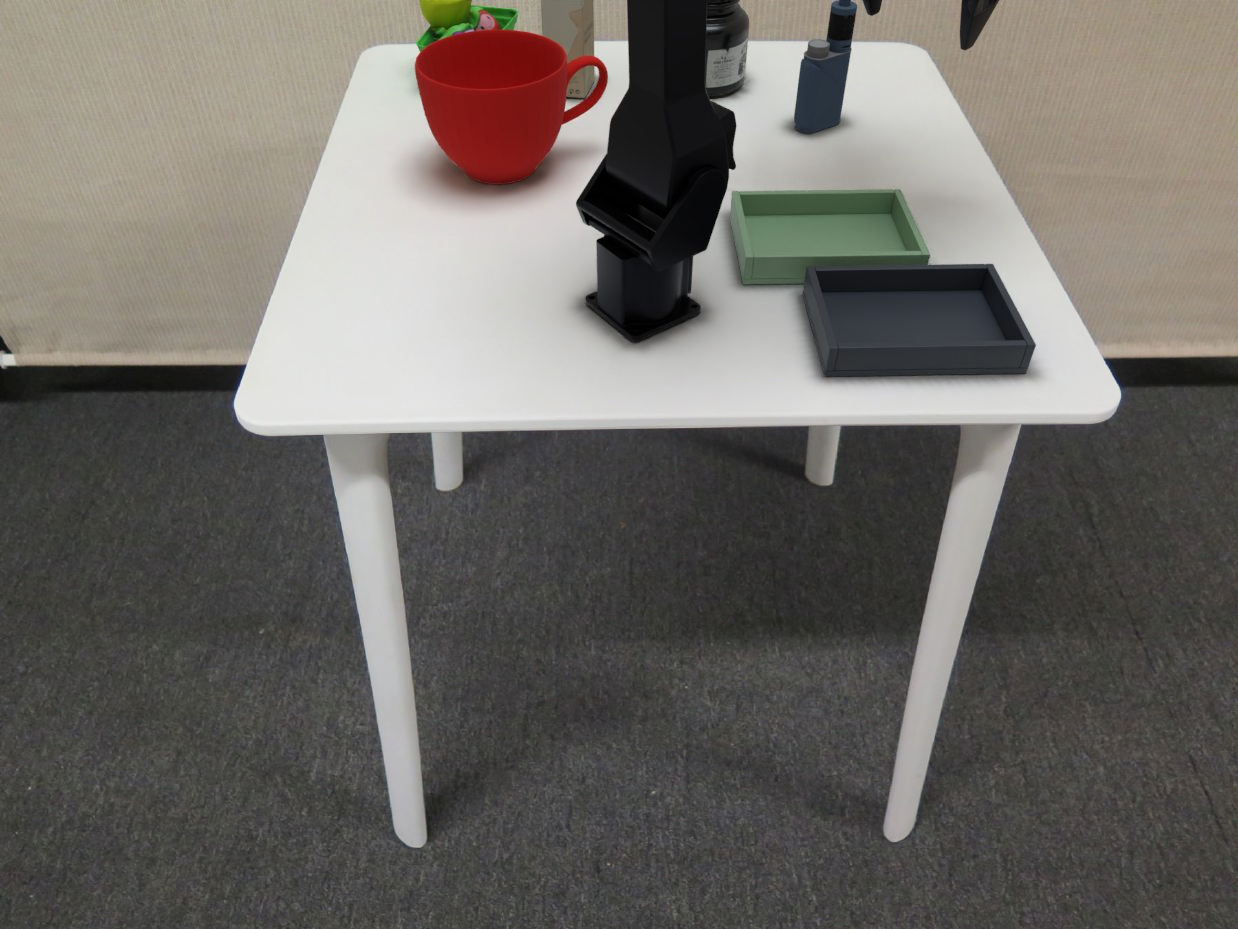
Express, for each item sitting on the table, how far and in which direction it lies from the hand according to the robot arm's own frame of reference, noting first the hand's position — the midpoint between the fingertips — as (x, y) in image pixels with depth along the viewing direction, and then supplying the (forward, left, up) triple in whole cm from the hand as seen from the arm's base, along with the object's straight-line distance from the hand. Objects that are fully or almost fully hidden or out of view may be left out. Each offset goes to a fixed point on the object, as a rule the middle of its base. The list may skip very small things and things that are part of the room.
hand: (918, 30), depth 80 cm
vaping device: (+4, +13, -14) cm, 20 cm away
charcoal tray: (-14, -15, -14) cm, 25 cm away
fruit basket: (-17, +44, -14) cm, 49 cm away
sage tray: (-11, -3, -14) cm, 18 cm away
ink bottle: (+2, +28, -14) cm, 31 cm away
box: (-10, +35, -14) cm, 39 cm away
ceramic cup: (-23, +24, -14) cm, 36 cm away
